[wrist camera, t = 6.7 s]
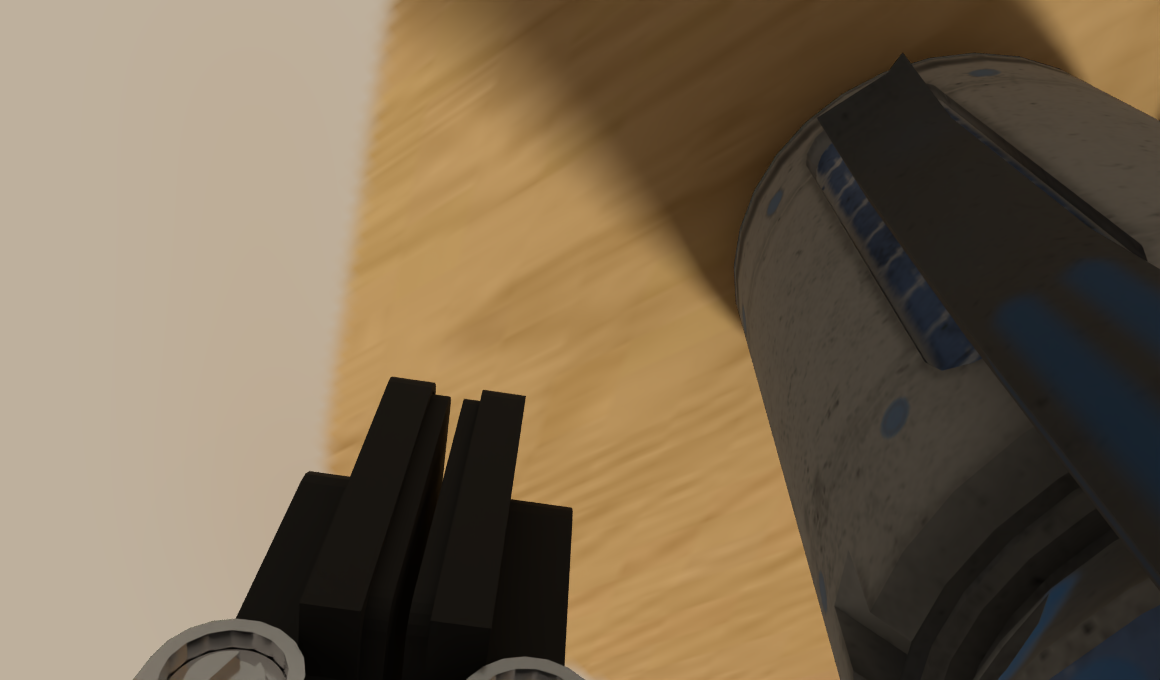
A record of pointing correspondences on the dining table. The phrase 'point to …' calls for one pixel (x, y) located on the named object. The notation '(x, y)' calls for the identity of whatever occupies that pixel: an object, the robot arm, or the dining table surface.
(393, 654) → the robot arm
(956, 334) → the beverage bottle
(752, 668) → the dining table surface
